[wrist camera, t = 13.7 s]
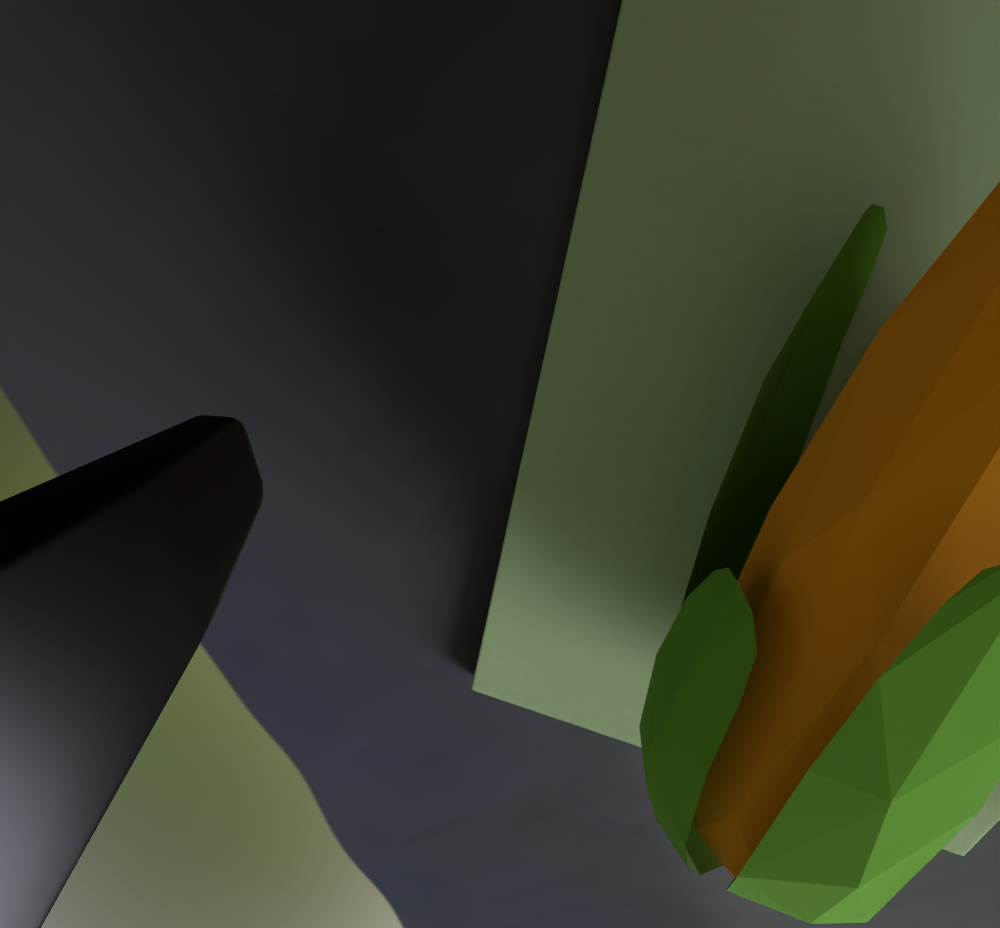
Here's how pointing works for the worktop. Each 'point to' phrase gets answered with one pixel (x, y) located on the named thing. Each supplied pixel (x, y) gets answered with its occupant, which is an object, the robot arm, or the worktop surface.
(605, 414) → the mat
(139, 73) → the worktop surface
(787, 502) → the corn
